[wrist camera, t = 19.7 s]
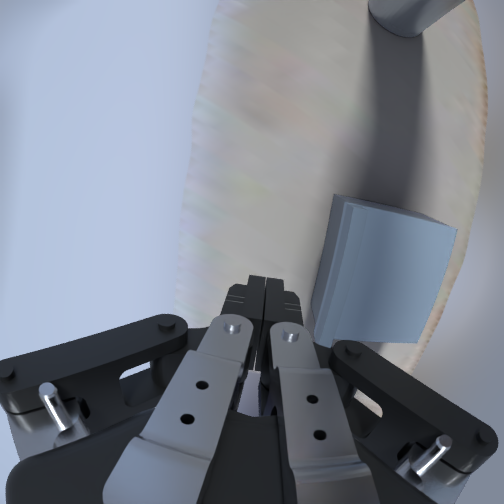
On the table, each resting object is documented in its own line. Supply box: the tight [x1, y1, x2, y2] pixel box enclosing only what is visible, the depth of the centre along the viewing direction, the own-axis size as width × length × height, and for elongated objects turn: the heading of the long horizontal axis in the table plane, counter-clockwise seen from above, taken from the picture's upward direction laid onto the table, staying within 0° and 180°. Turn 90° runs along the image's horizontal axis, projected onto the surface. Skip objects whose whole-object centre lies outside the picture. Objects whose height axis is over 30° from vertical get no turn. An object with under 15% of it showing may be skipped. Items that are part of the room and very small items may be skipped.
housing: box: [311, 194, 448, 324], centre depth 34 cm, size 16×14×8 cm
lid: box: [314, 202, 458, 348], centre depth 28 cm, size 16×15×4 cm
